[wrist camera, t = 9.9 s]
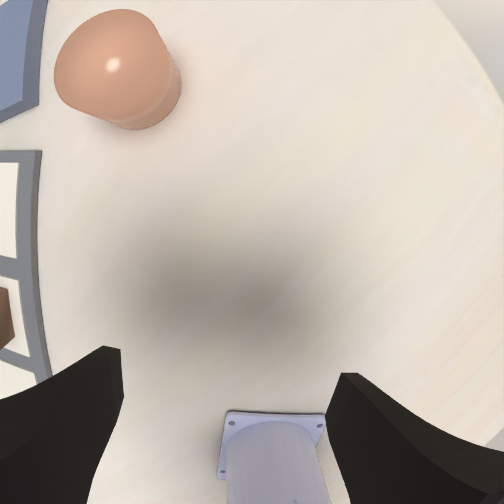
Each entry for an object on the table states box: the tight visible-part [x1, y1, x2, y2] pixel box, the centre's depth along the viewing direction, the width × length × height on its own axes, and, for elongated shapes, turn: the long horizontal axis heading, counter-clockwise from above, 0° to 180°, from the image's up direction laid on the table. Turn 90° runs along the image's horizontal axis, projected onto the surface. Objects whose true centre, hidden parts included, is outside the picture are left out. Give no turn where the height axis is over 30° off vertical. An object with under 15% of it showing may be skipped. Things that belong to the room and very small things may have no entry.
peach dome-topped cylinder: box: [54, 9, 181, 130], centre depth 13 cm, size 5×5×6 cm
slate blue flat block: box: [0, 0, 48, 123], centre depth 13 cm, size 10×7×2 cm
